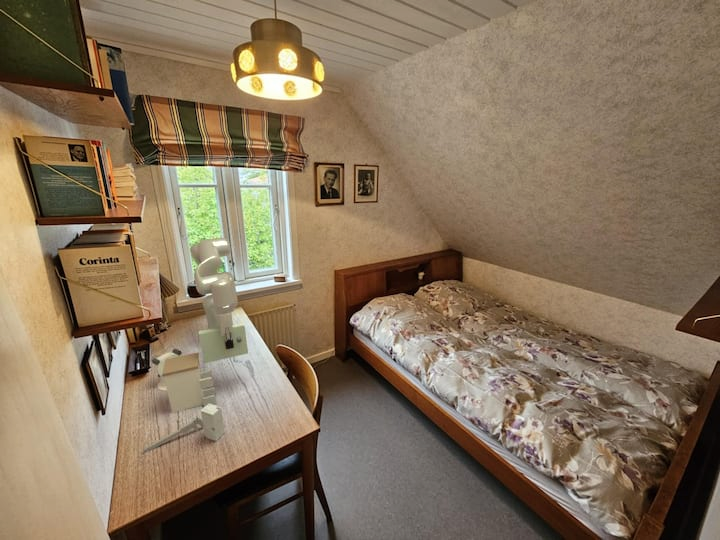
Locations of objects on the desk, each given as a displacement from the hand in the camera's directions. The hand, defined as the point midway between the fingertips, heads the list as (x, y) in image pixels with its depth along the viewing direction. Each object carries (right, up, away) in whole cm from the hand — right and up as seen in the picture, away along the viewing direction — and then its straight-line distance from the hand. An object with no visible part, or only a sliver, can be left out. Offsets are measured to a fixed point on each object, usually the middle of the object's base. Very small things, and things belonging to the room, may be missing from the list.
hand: (229, 346), depth 137 cm
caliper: (-12, -30, -21) cm, 39 cm away
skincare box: (+2, -29, -19) cm, 35 cm away
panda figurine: (-32, -20, +10) cm, 39 cm away
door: (-2, -5, +1) cm, 5 cm away
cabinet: (-15, -23, -1) cm, 28 cm away
